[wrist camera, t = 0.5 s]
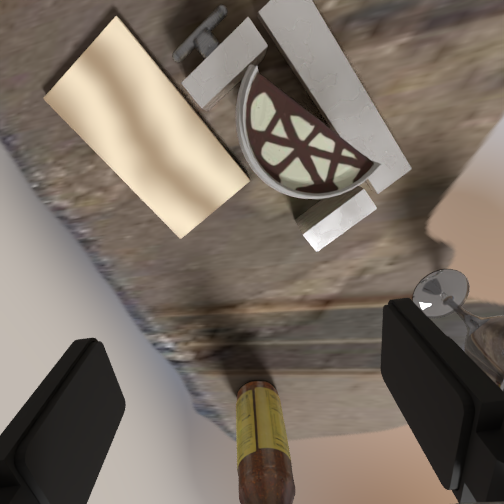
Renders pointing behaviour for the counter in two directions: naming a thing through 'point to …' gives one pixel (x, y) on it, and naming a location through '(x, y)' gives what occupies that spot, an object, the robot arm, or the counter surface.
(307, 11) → the vise
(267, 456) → the sauce bottle
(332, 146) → the food container
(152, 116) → the light wood flat board
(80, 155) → the counter surface
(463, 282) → the wine glass
